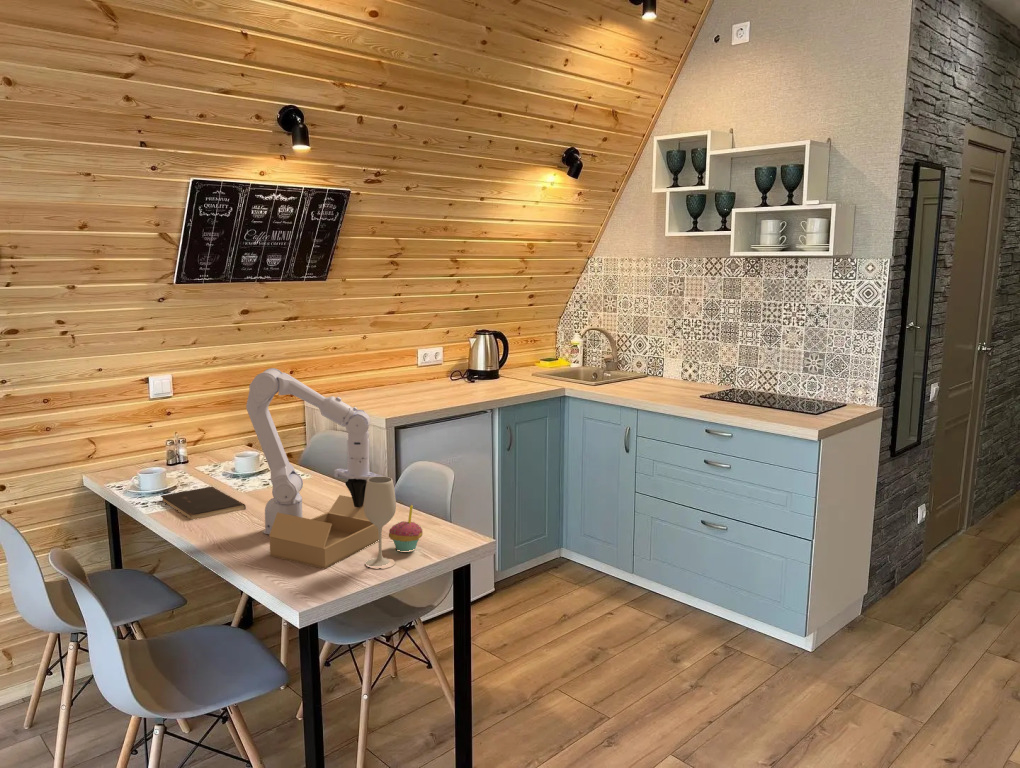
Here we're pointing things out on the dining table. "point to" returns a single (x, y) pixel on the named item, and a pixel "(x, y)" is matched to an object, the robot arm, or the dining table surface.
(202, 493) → the hardcover book
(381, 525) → the wineglass
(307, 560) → the carton
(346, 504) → the flap
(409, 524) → the cupcake
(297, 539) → the flap
